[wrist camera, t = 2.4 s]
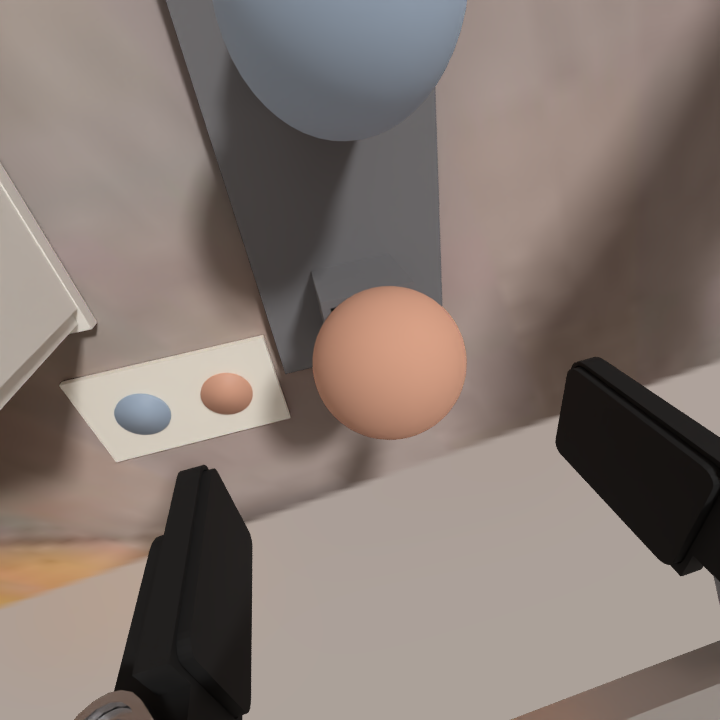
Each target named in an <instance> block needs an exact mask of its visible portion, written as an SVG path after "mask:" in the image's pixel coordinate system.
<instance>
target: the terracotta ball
mask: <svg viewBox="0 0 720 720" xmlns="http://www.w3.org/2000/svg"><path fill="white" fill-rule="evenodd" d="M466 365H467V359H466V350H465V346H464V341H463V338H462V336H461V333H460V331H459V329H458V326H457V325H456V323H455V322H454V320H453V319H452V317H451V316H450V315H449V313H448V312H447V311H446V310H445V309H444V308H443V307H442V306H441V305H439V304H438V303H437V302H436V301H434V300H433V299H432V298H430V297H428V296H426V295H425V294H423V293H420V292H418V291H415V290H413V289H409V288H404V287H397V286H381V287H374V288H370V289H367V290H363V291H361V292H359V293H356V294H354V295H353V296H351V297H349V298H347V299H346V300H345V301H343V302H342V303H341V304H339V305H338V306H337V307H336V308H335V309H334V310H333V311H332V312H331V313H330V315H329V316H328V317H327V319H326V320H325V322H324V323H323V325H322V327H321V329H320V331H319V333H318V336H317V338H316V342H315V345H314V351H313V375H314V380H315V384H316V387H317V390H318V393H319V395H320V397H321V399H322V400H323V402H324V404H325V406H326V407H327V408H328V410H329V411H330V412H331V413H332V414H333V415H334V417H335V418H336V419H338V420H339V421H340V422H341V423H342V424H344V425H345V426H347V427H348V428H350V429H351V430H353V431H355V432H357V433H359V434H362V435H365V436H368V437H371V438H376V439H386V440H396V439H403V438H408V437H412V436H415V435H417V434H420V433H422V432H424V431H426V430H428V429H430V428H431V427H433V426H434V425H436V424H437V423H438V422H439V421H441V420H442V419H443V418H444V417H445V416H446V415H447V414H448V412H449V411H450V410H451V408H452V407H453V405H454V404H455V402H456V401H457V399H458V397H459V395H460V393H461V390H462V388H463V384H464V380H465V376H466Z"/></svg>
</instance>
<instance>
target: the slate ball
mask: <svg viewBox="0 0 720 720" xmlns="http://www.w3.org/2000/svg"><path fill="white" fill-rule="evenodd" d="M212 1H213V6H214V10H215V15H216V19H217V22H218V25H219V28H220V31H221V34H222V38H223V40H224V43H225V45H226V47H227V49H228V52H229V54H230V56H231V59H232V60H233V62H234V64H235V66H236V68H237V69H238V71H239V73H240V75H241V76H242V78H243V79H244V81H245V82H246V84H247V85H248V86H249V88H250V89H251V91H252V92H253V93H254V94H255V95H256V97H257V98H258V99H259V100H260V101H261V102H262V103H263V104H264V106H266V107H267V108H268V109H269V110H270V111H271V112H272V113H273V114H275V115H276V116H277V117H278V118H279V119H281V120H282V121H284V122H285V123H287V124H288V125H290V126H291V127H293V128H295V129H297V130H299V131H301V132H303V133H305V134H308V135H311V136H314V137H316V138H320V139H325V140H331V141H353V140H362V139H365V138H369V137H373V136H376V135H378V134H381V133H383V132H385V131H387V130H389V129H391V128H393V127H394V126H396V125H397V124H399V123H401V122H402V121H403V120H404V119H406V118H407V117H408V116H409V115H410V114H412V113H413V112H414V111H415V110H416V109H417V108H418V107H419V106H420V105H421V104H422V103H423V101H424V100H425V99H426V98H427V97H428V96H429V94H430V93H431V92H432V90H433V89H434V87H435V86H436V85H437V83H438V81H439V80H440V78H441V76H442V74H443V73H444V71H445V69H446V67H447V65H448V62H449V60H450V58H451V56H452V54H453V51H454V49H455V46H456V43H457V40H458V37H459V34H460V31H461V27H462V23H463V19H464V15H465V10H466V4H467V0H212Z"/></svg>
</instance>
